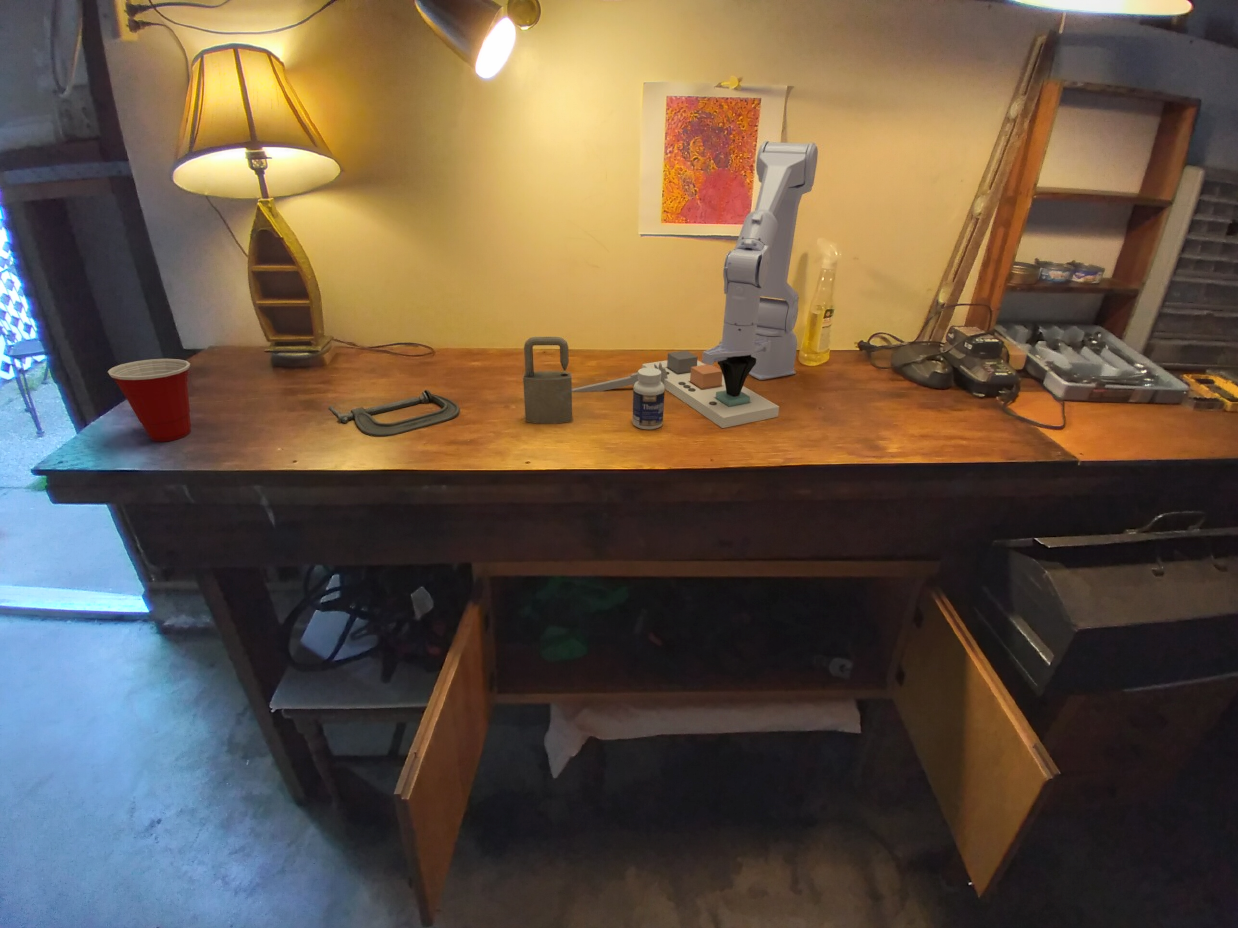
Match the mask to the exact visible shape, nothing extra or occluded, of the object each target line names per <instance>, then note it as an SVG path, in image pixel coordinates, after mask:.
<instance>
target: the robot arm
mask: <svg viewBox="0 0 1238 928" xmlns="http://www.w3.org/2000/svg"><path fill="white" fill-rule="evenodd" d="M818 154H819V153H818V146H817V144H816V143H815V142H810V143H808V142H807V143H805V142H804V143H802V142H801V143H799V142H770V141H768V140H765V141H763V142H762V144H761V145H760V146H759V148H758V151H757V156H756V161H755V162H756V165H755V166H756V169H755V170H756V175H757V179H758V182H759V183H761V184H760V188H759V192H758V196H757V200H756V204H755V208H754V210H753V211H751V212H749V213H748V214H747V215H746V217H745V219H744V221H743V224H742V226H741V229H740V233H739V235H738V238H737V240H736V244H735V247H734V248H733V250H729V251H728V252H727V254H726V257H725V259H724V263H723V270H722V271H723V273H722V276H723V282H724V286H723V294H724V295H725V302H724V303H725V306H724V314H723V327H722V338H721V340H719V343H718V345H715V346H713V347H712V348H709V349H706V350H703V351H702V361H701V362H702V363H703V364H705V365H707V364H708V365H714V363H717V364H718V366H719V369H720V370H722V373H723V377H724V381H725V386H726V393H727V394H728V395H731V396H733V397H736V396H739V395H740V392H741V390H742V387H743V386H744V385H745V382H746V380H747V379H748V376H749V375H750V376H751V377H753V378H755V379H757V380H759V381H764V380H770V379H774V378H781V377H786V376H792V375H795V374H796V370H795V362H796V357H797V349H798V338H797V335H796V334H795V332H794V331H793V330H794V329H795V326H796V325H797V324H796V323H797V319H798V316H799V315H798V313H799V300H800V299H799V293H798V292H797V291H796V289H794V288H793V287H792V286H791V285H790V284H789V283H788V277H789V271H790V265H791V264H790V263H791V257H792V253H793V252H792V250H793V246H794V240H795V239H794V237H795V231H796V225H797V219H798V213H799V205H800V202H801V200H802V197H803V195H804V194H808V193H810V192H812V188H813V186H814V183H815V178H816V171H817V165H818V158H819V157H818Z"/></svg>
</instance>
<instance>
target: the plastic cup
mask: <svg viewBox="0 0 1238 928" xmlns="http://www.w3.org/2000/svg"><path fill="white" fill-rule="evenodd" d="M190 367H191V363H190V362H189V361H187V360H184V359H178V358H177V359H176V358H157V359H156V358H154V359H153V358H151V359H143V360H137V361H130V362H127V363H121V364H119V365H115V366H114V367H111V368H110V369H109V370H108V371H107V373H108V374H109V376H110V378H112V379H113V380H114V381H115V382H116V384H117V385H118V387H119V389H120V390H121V393H123V395H124V396H125V398H126V400H127V402H128V403H129V405H130V407H131V409H132V411H133V412H134V413H135V414H134V415H135V416H136V417H137V419H138V421H139V423H141V424H142V426H143V429H144V430H145V432H146V433H147V435H148V437H149V438H150V439H151V440H152V441H154V442H163V443H164V442H171V441H175V440H180V439H182V438H184V437H186V436H188V435H189V434H190V433H191V431H192V429H191V428H192V423H191V415H190V412H191V409H190V400H189V399H190V398H189V389H188V387H189V386H188V375H189V373H188V372H189V369H190Z"/></svg>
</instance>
